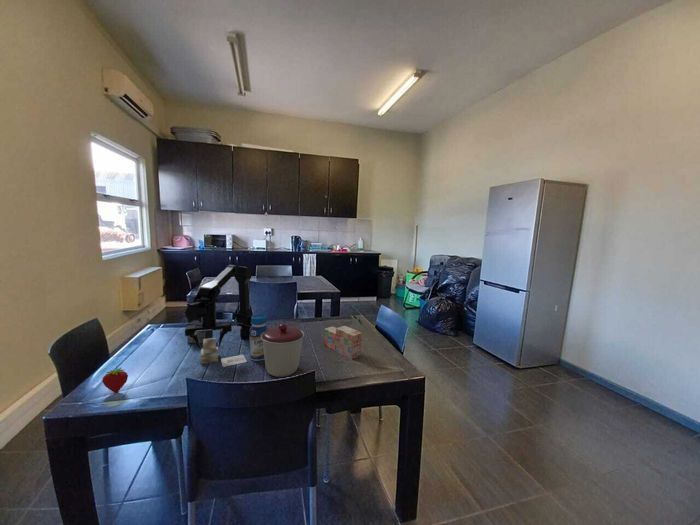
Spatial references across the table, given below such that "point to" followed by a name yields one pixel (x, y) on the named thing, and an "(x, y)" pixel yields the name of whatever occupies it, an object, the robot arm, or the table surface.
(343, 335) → the stack of blocks
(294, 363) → the canister
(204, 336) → the small box
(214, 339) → the beige cube
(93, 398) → the table surface
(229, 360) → the page
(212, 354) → the tower base
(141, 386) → the table surface
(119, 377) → the strawberry
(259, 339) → the beverage bottle
